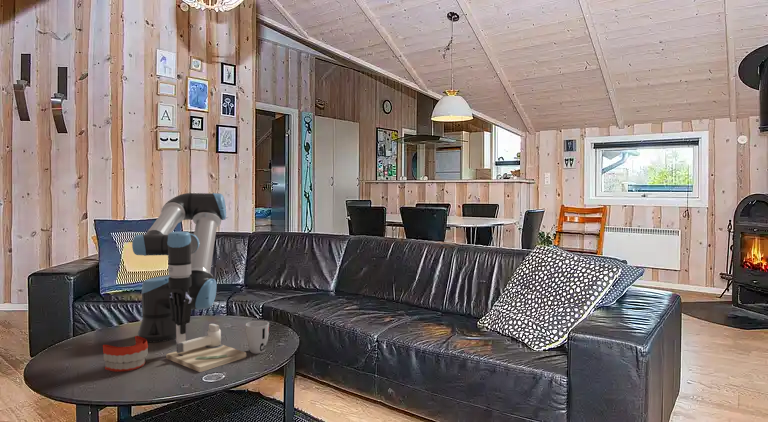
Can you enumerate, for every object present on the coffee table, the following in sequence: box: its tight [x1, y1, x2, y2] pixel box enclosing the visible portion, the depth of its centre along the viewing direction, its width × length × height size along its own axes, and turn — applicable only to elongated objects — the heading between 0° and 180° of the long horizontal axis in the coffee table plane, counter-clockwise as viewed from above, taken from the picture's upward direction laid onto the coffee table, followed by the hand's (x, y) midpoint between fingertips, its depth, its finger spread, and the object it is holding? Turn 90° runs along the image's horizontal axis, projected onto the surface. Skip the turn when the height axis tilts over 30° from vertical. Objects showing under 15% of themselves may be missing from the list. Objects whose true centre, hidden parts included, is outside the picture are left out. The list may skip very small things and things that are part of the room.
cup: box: [245, 320, 270, 355], centre depth 187 cm, size 8×8×10 cm
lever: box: [176, 323, 222, 353], centre depth 183 cm, size 17×5×7 cm, turn 142°
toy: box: [102, 335, 149, 373], centre depth 171 cm, size 12×10×8 cm
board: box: [165, 342, 247, 373], centre depth 181 cm, size 20×18×2 cm
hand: (181, 342), depth 185 cm, fingers closed
